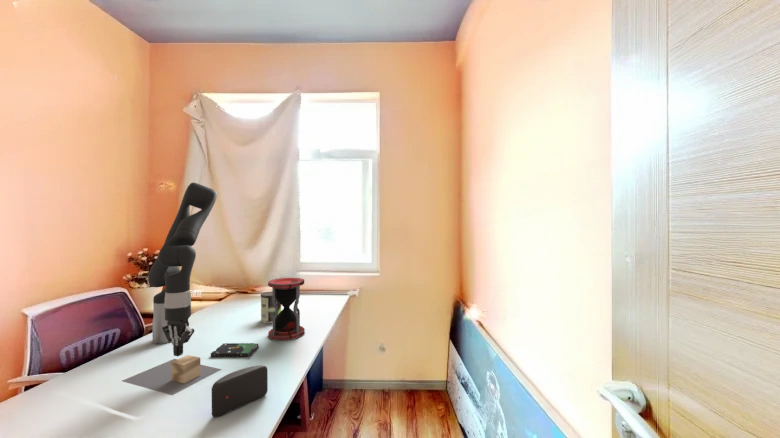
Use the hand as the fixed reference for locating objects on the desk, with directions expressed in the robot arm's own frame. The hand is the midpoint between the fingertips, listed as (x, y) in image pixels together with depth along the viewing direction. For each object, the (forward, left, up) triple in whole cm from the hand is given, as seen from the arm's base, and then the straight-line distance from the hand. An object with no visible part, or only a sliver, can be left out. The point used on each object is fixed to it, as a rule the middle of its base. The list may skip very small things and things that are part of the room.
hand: (178, 355), depth 112 cm
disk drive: (+2, +22, -8) cm, 24 cm away
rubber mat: (-2, 0, -8) cm, 8 cm away
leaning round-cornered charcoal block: (+33, -5, -8) cm, 34 cm away
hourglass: (+8, +47, -8) cm, 48 cm away
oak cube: (+4, 0, -1) cm, 4 cm away
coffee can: (-13, +61, -8) cm, 63 cm away
